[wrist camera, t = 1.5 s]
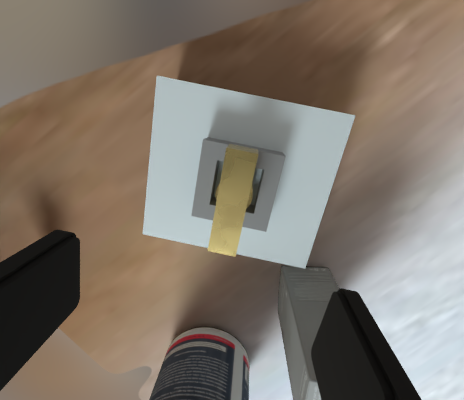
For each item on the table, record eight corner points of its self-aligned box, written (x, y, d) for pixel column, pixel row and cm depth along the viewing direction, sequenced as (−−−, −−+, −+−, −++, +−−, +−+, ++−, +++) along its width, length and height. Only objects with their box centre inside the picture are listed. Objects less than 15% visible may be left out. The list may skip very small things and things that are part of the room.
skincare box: (280, 263, 35) (299, 375, 20) (335, 266, 34) (397, 383, 19) (276, 315, 38) (290, 447, 23) (327, 318, 37) (376, 456, 22)
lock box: (335, 115, 29) (366, 115, 21) (296, 242, 34) (309, 282, 26) (176, 83, 29) (145, 71, 21) (161, 214, 34) (132, 244, 26)
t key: (261, 143, 25) (264, 155, 18) (244, 220, 27) (240, 257, 20) (230, 137, 25) (220, 146, 18) (216, 214, 27) (202, 249, 20)
